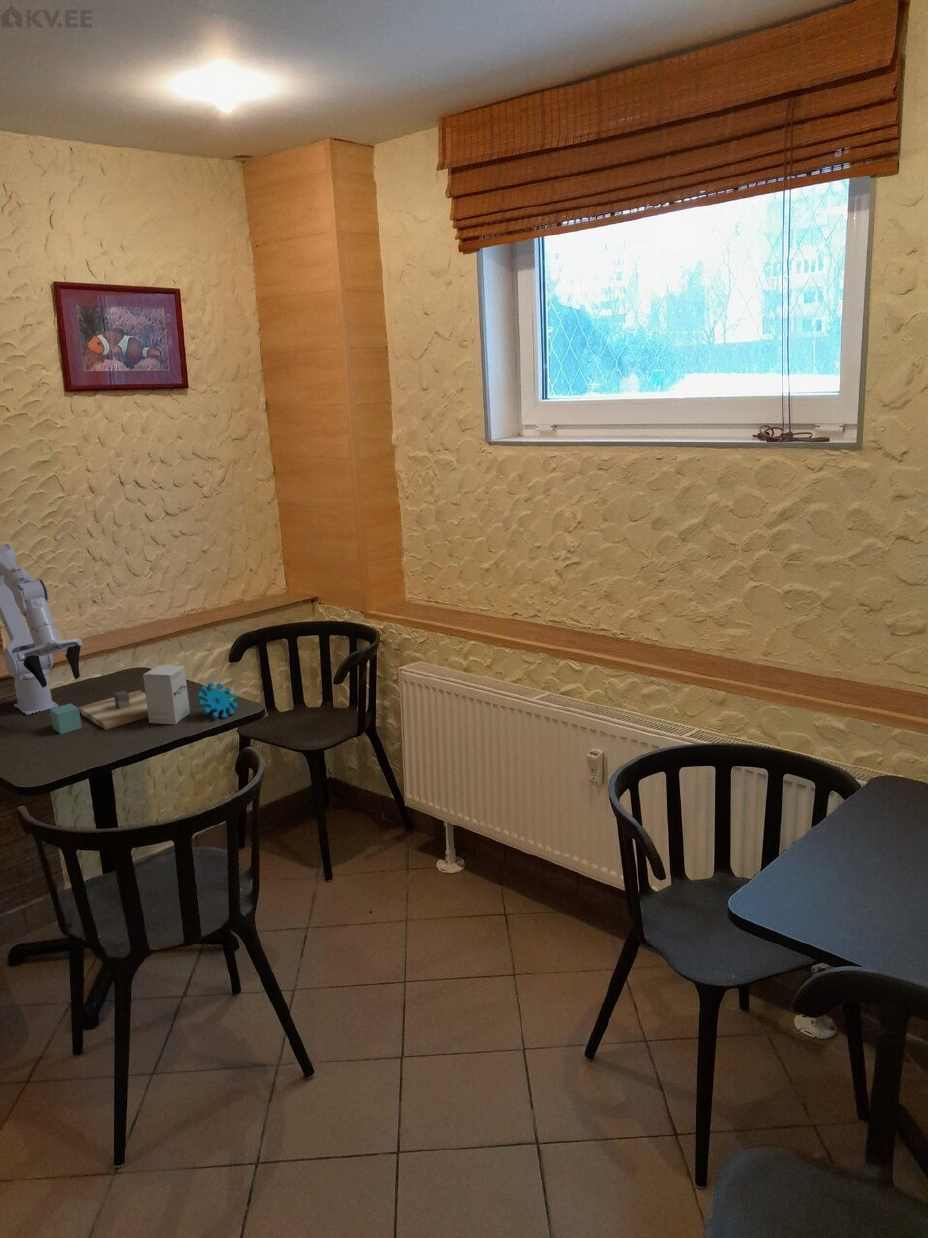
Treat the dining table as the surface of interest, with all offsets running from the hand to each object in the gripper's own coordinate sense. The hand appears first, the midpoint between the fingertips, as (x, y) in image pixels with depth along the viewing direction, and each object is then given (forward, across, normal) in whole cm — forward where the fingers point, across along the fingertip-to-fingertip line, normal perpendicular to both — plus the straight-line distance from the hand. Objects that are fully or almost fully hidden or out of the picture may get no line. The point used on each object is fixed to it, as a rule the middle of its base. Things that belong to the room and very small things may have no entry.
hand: (61, 682), depth 221 cm
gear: (+20, +30, -10) cm, 37 cm away
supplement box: (+17, +20, -4) cm, 26 cm away
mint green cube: (+10, 0, +7) cm, 12 cm away
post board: (+10, +14, +7) cm, 19 cm away
